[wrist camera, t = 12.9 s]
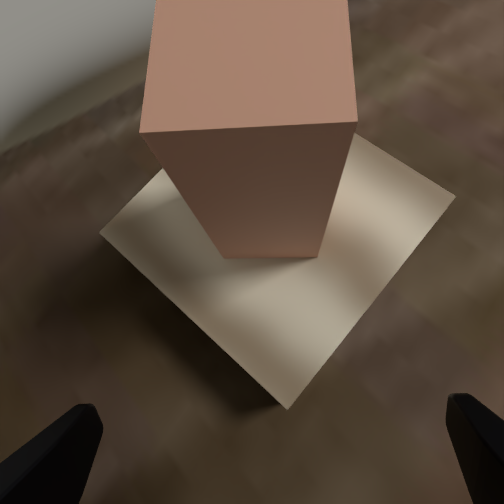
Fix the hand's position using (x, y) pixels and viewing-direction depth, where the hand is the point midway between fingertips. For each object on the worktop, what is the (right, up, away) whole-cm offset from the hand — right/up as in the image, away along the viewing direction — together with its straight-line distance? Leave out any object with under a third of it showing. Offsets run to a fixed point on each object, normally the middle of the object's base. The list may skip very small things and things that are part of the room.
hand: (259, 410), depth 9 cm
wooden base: (+1, +5, +13) cm, 14 cm away
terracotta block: (+1, +6, +10) cm, 12 cm away
